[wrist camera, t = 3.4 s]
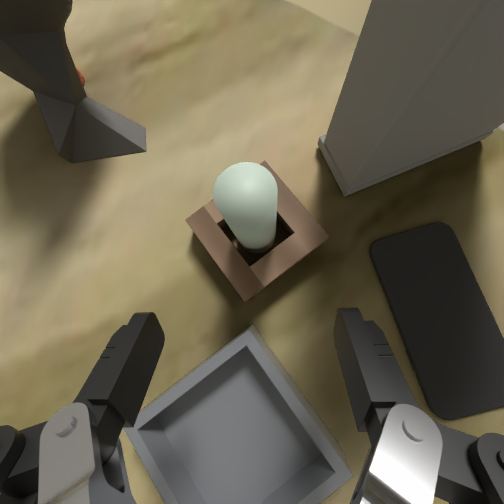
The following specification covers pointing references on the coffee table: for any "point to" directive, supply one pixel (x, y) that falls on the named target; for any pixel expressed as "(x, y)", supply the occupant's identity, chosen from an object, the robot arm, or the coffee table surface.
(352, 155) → the tall grey upright box
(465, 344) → the phone
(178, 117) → the coffee table surface
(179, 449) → the tray
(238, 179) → the pale green rounded cylinder
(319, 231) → the brown hollow square block
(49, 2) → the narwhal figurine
